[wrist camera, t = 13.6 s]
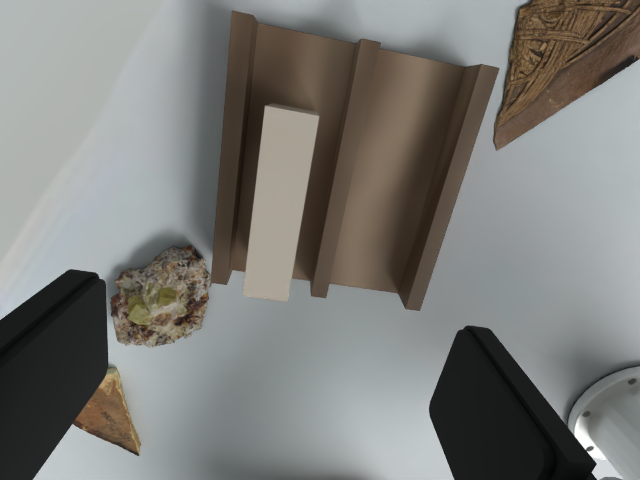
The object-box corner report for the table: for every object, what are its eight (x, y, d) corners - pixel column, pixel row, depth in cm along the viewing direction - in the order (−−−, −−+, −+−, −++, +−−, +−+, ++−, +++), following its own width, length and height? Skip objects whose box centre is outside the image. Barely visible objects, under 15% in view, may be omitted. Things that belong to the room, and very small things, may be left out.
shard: (145, 443, 39) (138, 459, 37) (72, 446, 39) (62, 462, 37) (123, 363, 35) (114, 376, 33) (42, 366, 35) (29, 379, 33)
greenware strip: (315, 111, 26) (319, 116, 20) (290, 263, 30) (287, 301, 24) (273, 103, 25) (264, 105, 20) (254, 257, 30) (242, 295, 24)
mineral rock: (176, 372, 33) (79, 347, 29) (178, 338, 36) (93, 311, 32) (242, 285, 30) (145, 243, 26) (237, 257, 34) (152, 217, 30)
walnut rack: (473, 71, 26) (499, 67, 23) (407, 288, 33) (419, 310, 29) (242, 22, 24) (232, 10, 21) (220, 261, 31) (210, 282, 27)
